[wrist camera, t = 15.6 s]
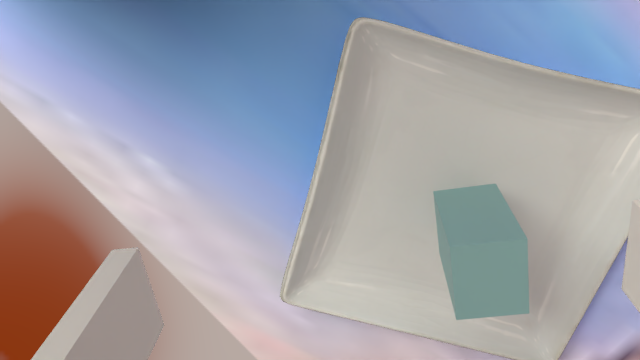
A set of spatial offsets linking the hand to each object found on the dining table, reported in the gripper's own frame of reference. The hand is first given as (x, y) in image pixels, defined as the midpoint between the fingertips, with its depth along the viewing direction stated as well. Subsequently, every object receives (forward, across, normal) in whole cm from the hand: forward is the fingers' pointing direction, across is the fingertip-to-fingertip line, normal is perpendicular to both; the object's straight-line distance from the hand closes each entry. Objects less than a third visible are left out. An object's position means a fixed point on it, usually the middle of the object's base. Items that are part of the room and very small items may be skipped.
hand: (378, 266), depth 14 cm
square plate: (+31, +8, -15) cm, 35 cm away
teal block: (+27, +7, -15) cm, 32 cm away
